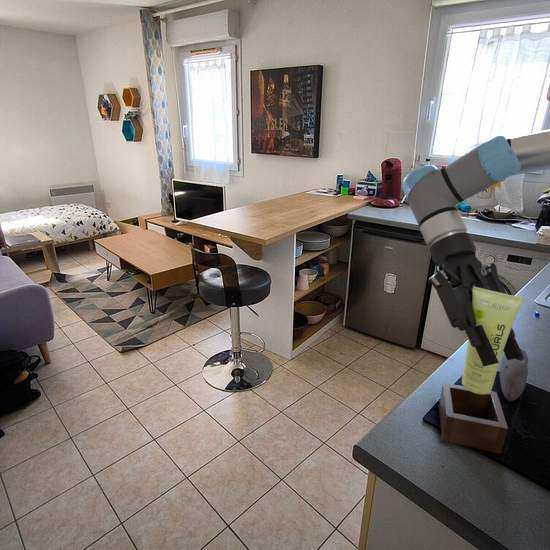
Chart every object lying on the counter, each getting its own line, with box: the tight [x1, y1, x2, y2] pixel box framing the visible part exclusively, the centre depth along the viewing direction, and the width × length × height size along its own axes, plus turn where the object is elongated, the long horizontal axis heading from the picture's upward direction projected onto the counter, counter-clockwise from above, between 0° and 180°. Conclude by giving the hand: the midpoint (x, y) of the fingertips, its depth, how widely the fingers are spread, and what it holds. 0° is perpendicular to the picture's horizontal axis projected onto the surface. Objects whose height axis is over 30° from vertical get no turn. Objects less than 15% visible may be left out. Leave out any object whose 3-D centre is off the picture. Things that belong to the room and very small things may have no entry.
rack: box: [438, 382, 509, 455], centre depth 70 cm, size 10×10×6 cm
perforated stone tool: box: [499, 348, 529, 402], centre depth 80 cm, size 15×5×7 cm, turn 145°
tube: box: [461, 286, 525, 394], centre depth 64 cm, size 6×5×20 cm
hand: (503, 361), depth 61 cm, fingers closed on tube, 5 cm apart
